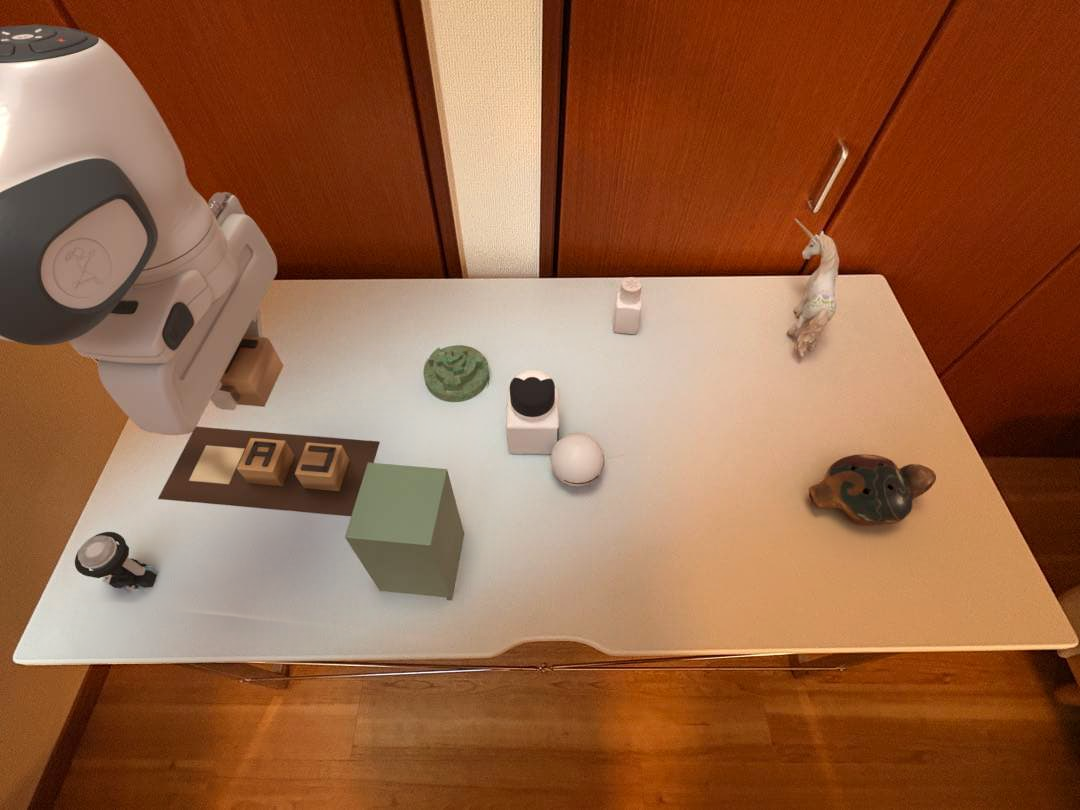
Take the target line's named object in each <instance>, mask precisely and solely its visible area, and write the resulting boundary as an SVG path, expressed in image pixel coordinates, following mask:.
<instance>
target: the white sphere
mask: <svg viewBox="0 0 1080 810" xmlns="http://www.w3.org/2000/svg"><path fill="white" fill-rule="evenodd" d="M622 456H623V454H621V455H620V457H622ZM617 457H619V455H617V456H616V458H617ZM614 458H615V456H613V457H612V459H614ZM610 459H611V458H608V460H610ZM549 460H550V466H551V470H552V472H553V474H554V475H555V477H556V478H557V479H558V480H559V481H561V483H563V484H566V485H568V486H570V487H584V486H587V485H589V484H591V483H594V481H596V480H597V479H598V478H599V476H600V474H601V472H602V471H603V469H604V466H605V455H604V452H603V448H602V446H601V445H600V444H599V442H598V441H597V440H595V438H593V437H592V436H591V435H588V434H586V433H583V432H572V433H569V434H566V435H564V436H562V437H561V438H560V439H558V442H556V444H555V446H554V447H553V450H552V453H551V454H550V459H549Z"/></svg>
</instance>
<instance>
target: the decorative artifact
mask: <svg viewBox="0 0 1080 810" xmlns="http://www.w3.org/2000/svg"><path fill="white" fill-rule="evenodd" d="M423 379H424V383H425V386H426V388H427V390H428V391H429V393H430V394H431V395H432V396H434V397H435V398H436V399H438V400H440V401H444V402H448V403H460V402H465V401H466V402H467V401H468V400H471V399H474V398H475V397H477V396H478V395H479V394H480V393H482V392H483V391H484V390H485V388H487V389H488V388H489V385H490V380H491V378H490V368H489V362H488V360H487V358H486V356H485V355H484V354H483V353H482V352H480V351H479V350H478V349H477V348H474V347H471V346H468V345H463V344H456V345H455V344H454V345H449V346H445V347H442V348H440V347H437V348H436V349H434V351H432V353H431V354H430V355H429V357H428V359H427V360H426V362H425V364H424V366H423Z"/></svg>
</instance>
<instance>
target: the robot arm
mask: <svg viewBox="0 0 1080 810" xmlns="http://www.w3.org/2000/svg"><path fill="white" fill-rule="evenodd" d="M148 94H149V93H148V92H147V91H146V90H145V88H144V86H143V85H142V84H141V82H140V81H139V79H138V78H137V77H136V75H135V74H134V72H133V71H132V70H131V68H130V67H129V66H128V65H127V63H126V62H125V61H124V59H122V57H121V56H120V54H118V53H117V52H116V51H115V50H114V49H113V47H111V46H110V45H109V44H108V42H106V41H105V40H103V39H102V38H101V37H98V36H96V35H94V34H91V33H89V31H84V30H81V29H80V30H79V29H75V28H69V27H63V26H59V25H58V26H57V25H45V24H30V25H16V26H15V25H7V26H2V27H1V26H0V340H2V341H6V342H7V341H8V342H14V343H19V344H24V345H28V346H29V345H30V346H55V345H58V344H64V343H67V342H69V344H70V345H71V347H72V349H73V350H74V351H75V352H76V353H77V354H79V356H81V357H84V358H88V359H93V360H97V374H98V378H99V379H100V382H101V384H102V386H103V387H104V389H105V390H106V392H107V393H108V394H109V396H110V397H111V398H112V400H113V401H114V402H115V403H116V405H117V406H118V407H119V408H120V409H121V411H122V412H123V413H124V414H125V415H126V416H127V417H128V418H129V419H130V421H132V422H133V423H134V424H135V425H136V426H137V428H139V429H140V430H142V431H144V432H147V433H151V434H155V435H164V436H183V435H188V434H192V432H193V431H194V429H195V428H196V427H198V423H199V422H200V420H201V418H202V416H203V414H204V412H205V410H206V408H207V407H208V405H209V402H210V401H211V402H212V403H213V405H214V406H215V407H216V408H217V409H219V410H225V411H226V410H227V411H234V410H236V407H237V406H238V404H237V403H238V401H239V399H240V397H241V396H240V394H239V393H238V391H237V390H236V388H235V387H233V386H225V387H224V386H222V383H221V382H220V380H221V378H222V376H223V374H224V372H225V371H226V369H227V367H228V365H229V363H230V361H231V359H232V357H233V355H234V353H235V352H236V350H237V348H238V346H239V344H240V342H241V340H242V338H243V336H249V337H262V338H265V337H264V335H263V334H262V332H263V329H262V317H261V311H260V309H259V308H260V306H261V304H262V302H263V300H264V298H265V297H266V295H267V293H268V291H269V289H270V287H271V285H272V283H273V281H274V280H275V278H276V276H277V274H278V260H277V256H276V254H275V251H274V250H273V249H272V246H271V244H270V243H269V241H268V239H267V238H266V236H265V235H264V233H263V232H262V229H261V228H260V227H259V226H258V224H257V223H256V222H255V220H254V219H253V218H252V217H250V215H248V214H246V213H245V211H244V209H243V207H242V204H241V202H240V200H239V198H238V197H237V196H236V195H234V194H232V193H231V192H227V191H223V192H221V191H218V192H215V193H214V194H212V195H211V197H210V198H209V200H208V202H207V201H206V199H205V198H204V197H203V196H202V195H201V194H200V193H199V192H198V191H197V190H196V189H195V188H194V186H193V185H192V183H191V182H190V180H189V178H188V175H187V170H186V164H185V160H184V157H183V155H182V152H181V150H180V149H179V147H178V145H177V143H176V141H175V139H174V137H173V136H172V133H171V131H170V130H169V128H168V126H167V124H166V123H165V121H164V119H163V118H162V116H161V114H160V112H159V109H157V107H156V105H155V104H154V102H153V101H152V99H151V97H150V96H149V95H148Z"/></svg>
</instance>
